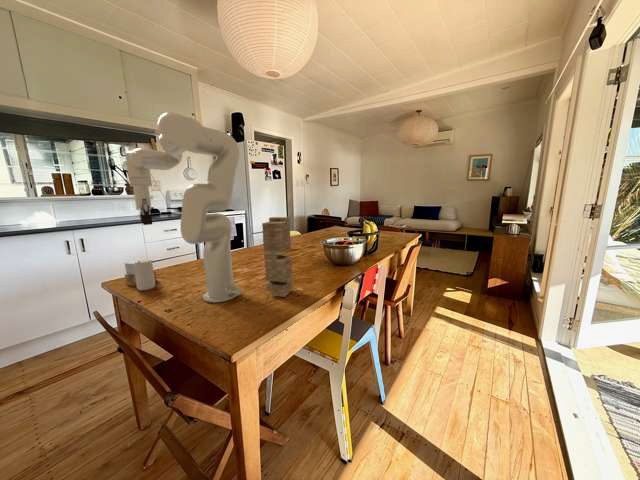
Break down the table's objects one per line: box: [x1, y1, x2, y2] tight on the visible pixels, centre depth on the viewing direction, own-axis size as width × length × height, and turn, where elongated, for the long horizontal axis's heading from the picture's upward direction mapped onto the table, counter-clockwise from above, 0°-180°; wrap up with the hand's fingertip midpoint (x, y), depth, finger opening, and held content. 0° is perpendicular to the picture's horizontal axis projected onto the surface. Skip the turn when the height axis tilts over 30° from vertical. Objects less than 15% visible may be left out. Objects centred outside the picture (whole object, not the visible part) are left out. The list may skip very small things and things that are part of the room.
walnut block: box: [124, 269, 157, 287], centre depth 113 cm, size 8×8×5 cm
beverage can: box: [134, 258, 156, 292], centre depth 105 cm, size 6×6×12 cm
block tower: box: [261, 216, 294, 298], centre depth 96 cm, size 8×8×29 cm
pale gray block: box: [124, 258, 154, 275], centre depth 112 cm, size 7×7×5 cm
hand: (146, 223), depth 108 cm, fingers open, 9 cm apart
